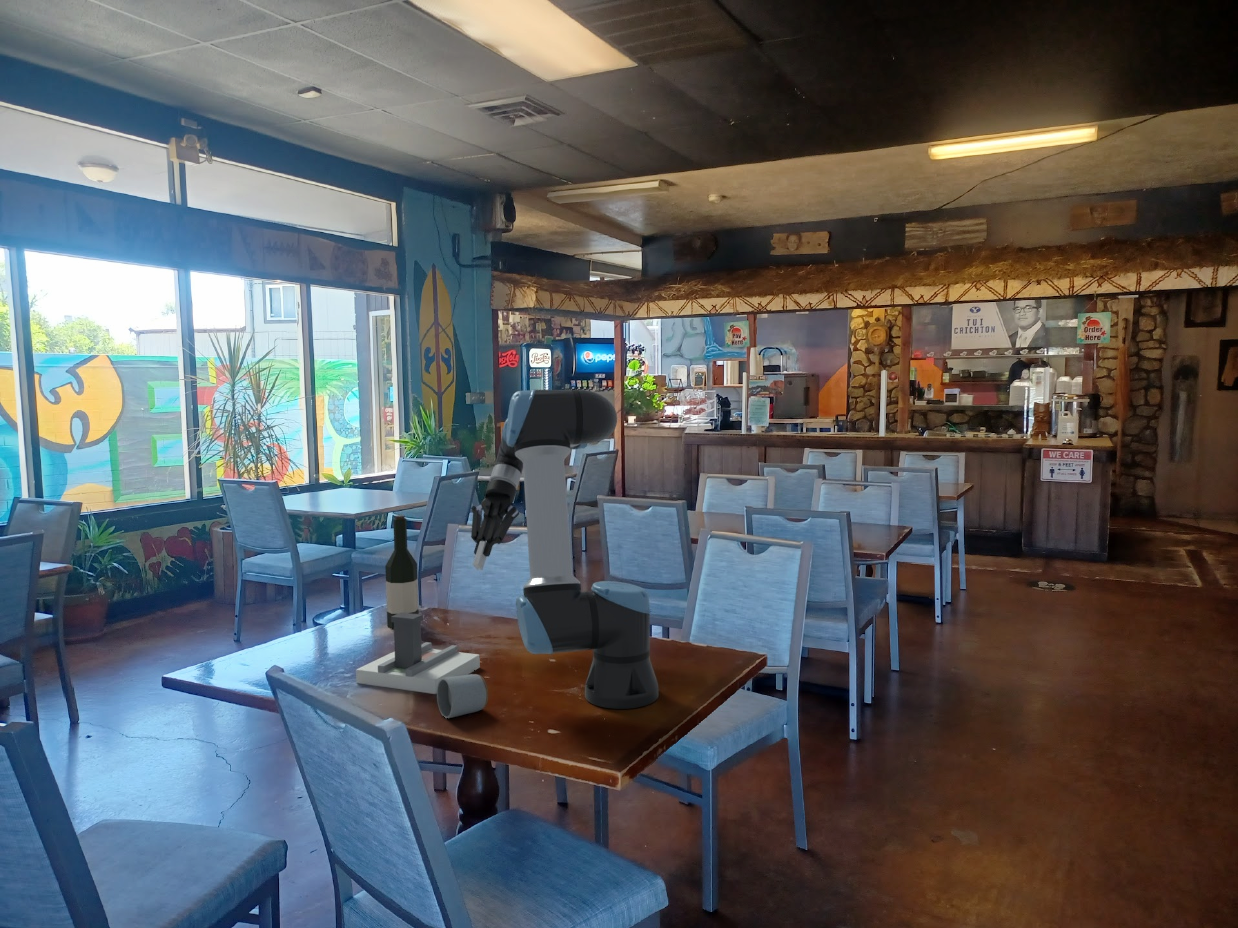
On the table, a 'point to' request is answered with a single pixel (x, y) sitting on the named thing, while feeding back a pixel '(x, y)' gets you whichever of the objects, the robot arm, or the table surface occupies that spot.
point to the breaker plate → (419, 669)
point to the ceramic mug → (461, 695)
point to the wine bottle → (401, 575)
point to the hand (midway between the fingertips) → (477, 567)
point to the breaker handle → (407, 639)
